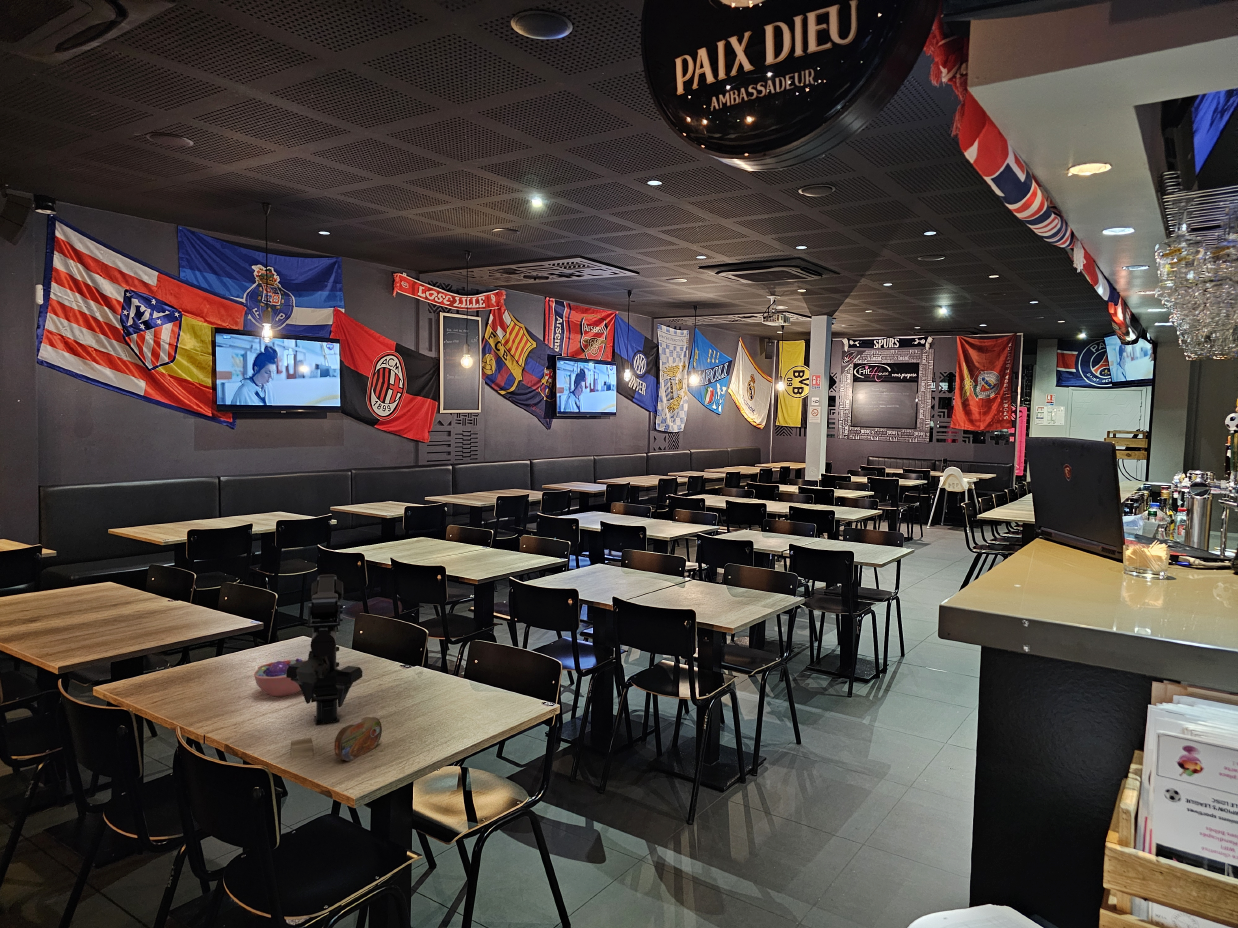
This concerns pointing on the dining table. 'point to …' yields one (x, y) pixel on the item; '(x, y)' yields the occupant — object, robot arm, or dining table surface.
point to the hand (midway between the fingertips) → (324, 704)
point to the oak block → (301, 748)
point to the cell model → (276, 678)
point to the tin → (358, 738)
